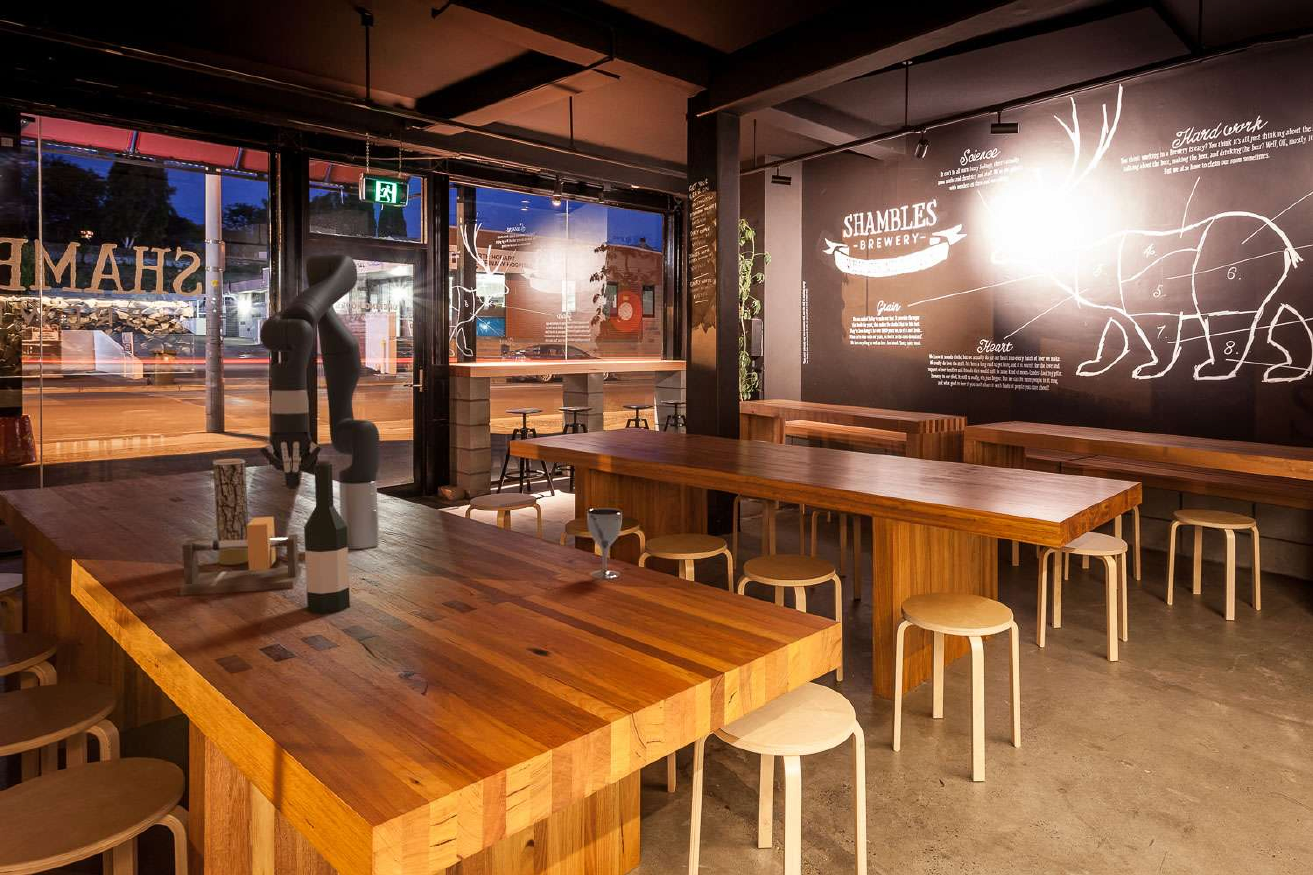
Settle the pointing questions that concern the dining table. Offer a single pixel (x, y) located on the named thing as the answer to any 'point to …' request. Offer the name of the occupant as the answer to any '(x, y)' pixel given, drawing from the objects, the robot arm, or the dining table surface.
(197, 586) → the pipe stand
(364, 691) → the dining table surface
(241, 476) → the bark log section
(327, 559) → the wine bottle
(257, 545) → the collar
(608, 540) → the wine glass
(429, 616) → the dining table surface
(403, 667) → the dining table surface
